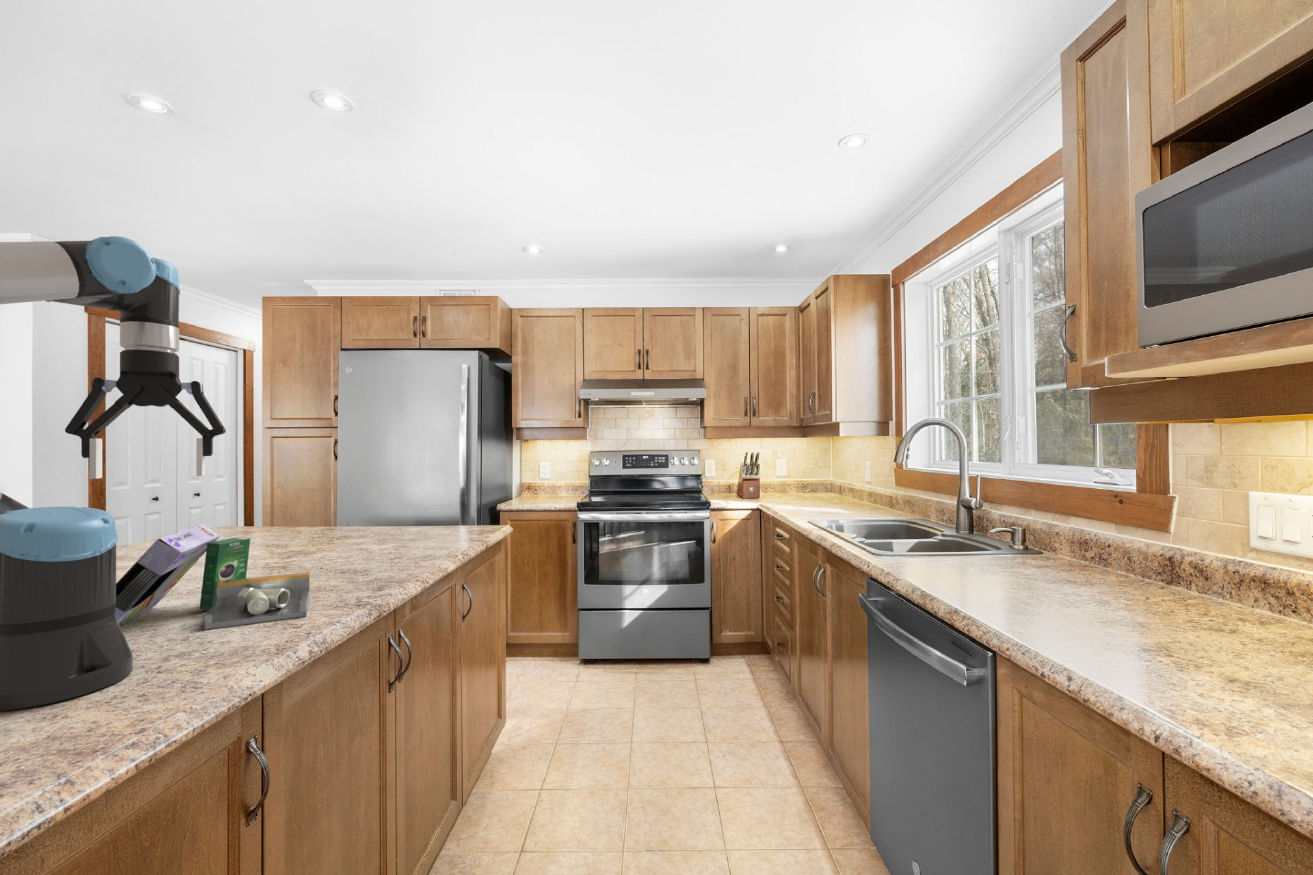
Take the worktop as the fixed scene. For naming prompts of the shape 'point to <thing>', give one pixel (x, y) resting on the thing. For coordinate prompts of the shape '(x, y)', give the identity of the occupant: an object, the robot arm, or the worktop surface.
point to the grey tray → (227, 591)
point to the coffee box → (223, 566)
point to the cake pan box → (160, 570)
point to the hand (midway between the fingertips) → (150, 477)
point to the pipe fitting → (262, 599)
